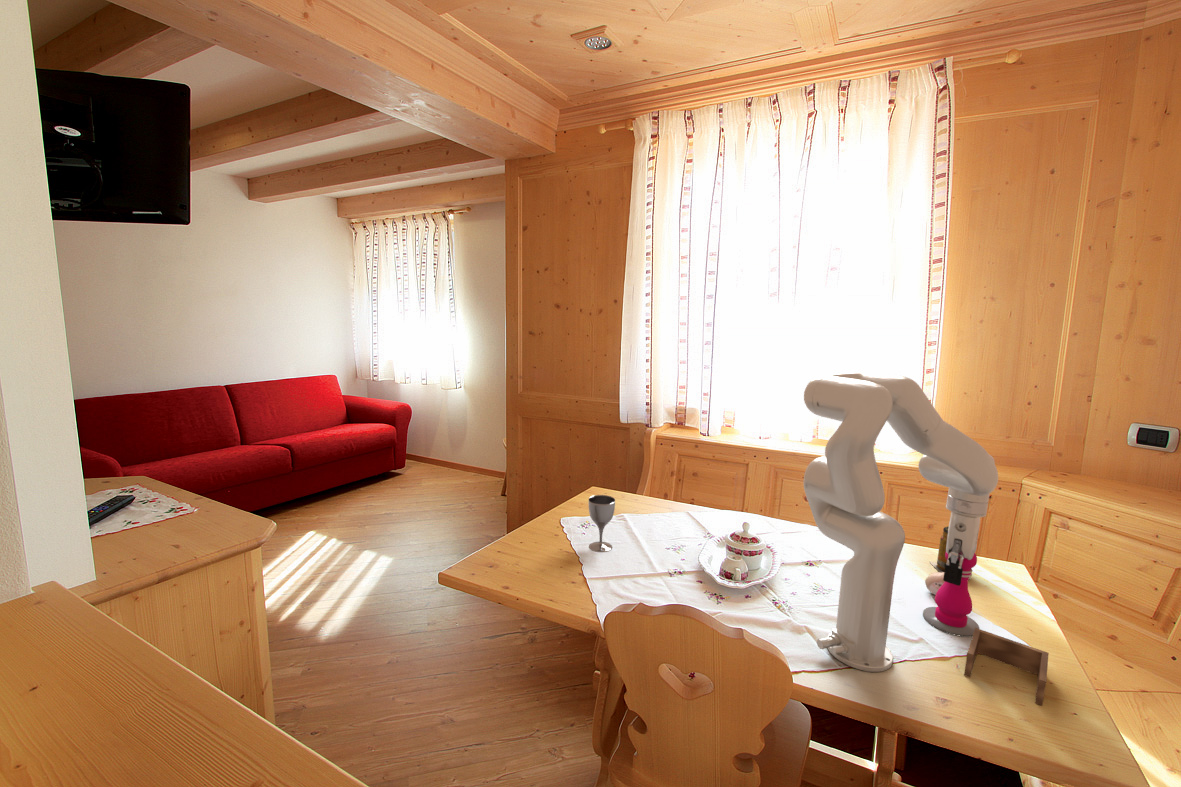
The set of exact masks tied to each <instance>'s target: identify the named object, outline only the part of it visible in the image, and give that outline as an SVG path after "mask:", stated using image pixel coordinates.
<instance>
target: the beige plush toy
mask: <svg viewBox="0 0 1181 787" xmlns="http://www.w3.org/2000/svg"><path fill="white" fill-rule="evenodd" d="M943 578H944V572H942V573H940V572H939V571H937V572H933V573H931V574H929V575H928V576H927V577H926V578H925V580H924V581H925V582H924V583H925V584H924V585H925V587H926V589H927V590H928V591H929V592H930V593H932V594H933V595H935V596H936V593H937V591H938V590H939V588H940V587H941V586H942V585H943V583H944V582H945V581H944V580H943Z"/></svg>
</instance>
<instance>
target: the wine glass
mask: <svg viewBox="0 0 1181 787" xmlns="http://www.w3.org/2000/svg"><path fill="white" fill-rule="evenodd" d="M615 510H616V499H615V498H614V497H613V496H610V495H606V494H597V495H595V494H594V495H591V496H590V497H588V513H589V517H590V519H591V520H592V522H593V523H594V524H595V525H596V526H597V528H598V535H599V541H593V542H591V543H590V544H589V546H588V548H589V550H590V551H593V552H597V553H607V552H610V551H611V550H612V549H613V545H612V544H611V543H609V542H606V541H603V532H604V529H605V527H606V526H607V525H608V524H609V523H610V522H611V520H612V519H613V517H614V514H615Z"/></svg>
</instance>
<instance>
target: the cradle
mask: <svg viewBox="0 0 1181 787" xmlns="http://www.w3.org/2000/svg"><path fill="white" fill-rule="evenodd" d="M966 653H967V654H966V660H965V665H964V666H965V667H964V673H963V676H965V677H968V678H971V675H972V672H973V668H974V666H975V663H976V658H977V655H978V653H979V655H981V656H984V657H987V658H989V659H993V660H995V661H997V662H1000V663H1003V664H1006V665H1009V666H1011V667H1014V668H1016V669H1019V670H1022V671H1025V672H1028V673H1029V674H1033V675H1036V676H1037V681H1036V691H1035V700H1034V704H1036V705H1039V706H1041V707H1043V702H1044V697H1045V696H1044V695H1045V692H1046V686H1047V681H1048V680H1047V678H1048V662H1049V655H1050V654H1049V652H1047V651H1044V650H1042V649H1038V648H1036V647H1033V646H1030V645H1028V644H1027V645H1026V644H1024V643H1021V642H1018V641H1016V640H1011V638H1010V639H1009V638H1006V637H1004V636H1000V635H998V634H995V633H992V632H989V631H986V630H983V629H980V628H979V629H978V628H975V630H974V633H973V636H971V639H970V644H969V646H968V650H967V652H966Z"/></svg>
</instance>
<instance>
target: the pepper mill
mask: <svg viewBox="0 0 1181 787" xmlns="http://www.w3.org/2000/svg"><path fill="white" fill-rule="evenodd" d="M961 546H962V544H961ZM959 554H961V553H959ZM948 555H949V554H948V553H947V552H946V553H945V557H946V560H947V559H948ZM961 555H962V554H961ZM958 559H959V561H960V558H958ZM977 563H978V556H977V554H976V552H975V553H974V556H973V558H972V559H971V560H968V559H967V558H964V560H963V564H962V568H963V572H962V578H961V584H960V585H959V586H958V585H955V584H951V583H948V582H944V583H943V585H942V586H941V587H940V588H939V590H938V591H937V593H936V595H935V596H934V602H935V604H936V606H935V607H936V610H935V617H936V618H937V619H938V620H939V621H941V622H942V623H944V624H946V625H949V626H952V627H958V628H962V627H965V626H966V625H967V620H968V617H969V616H968V615H969V614H971V613H972V610H973V601H972V598H971V594H970V591H969V580H970V579H969V577H971V578H972V576H973V572H974V571H973V568H974V567H976V565H977ZM946 564H947V563H946ZM967 616H968V617H967Z"/></svg>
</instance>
